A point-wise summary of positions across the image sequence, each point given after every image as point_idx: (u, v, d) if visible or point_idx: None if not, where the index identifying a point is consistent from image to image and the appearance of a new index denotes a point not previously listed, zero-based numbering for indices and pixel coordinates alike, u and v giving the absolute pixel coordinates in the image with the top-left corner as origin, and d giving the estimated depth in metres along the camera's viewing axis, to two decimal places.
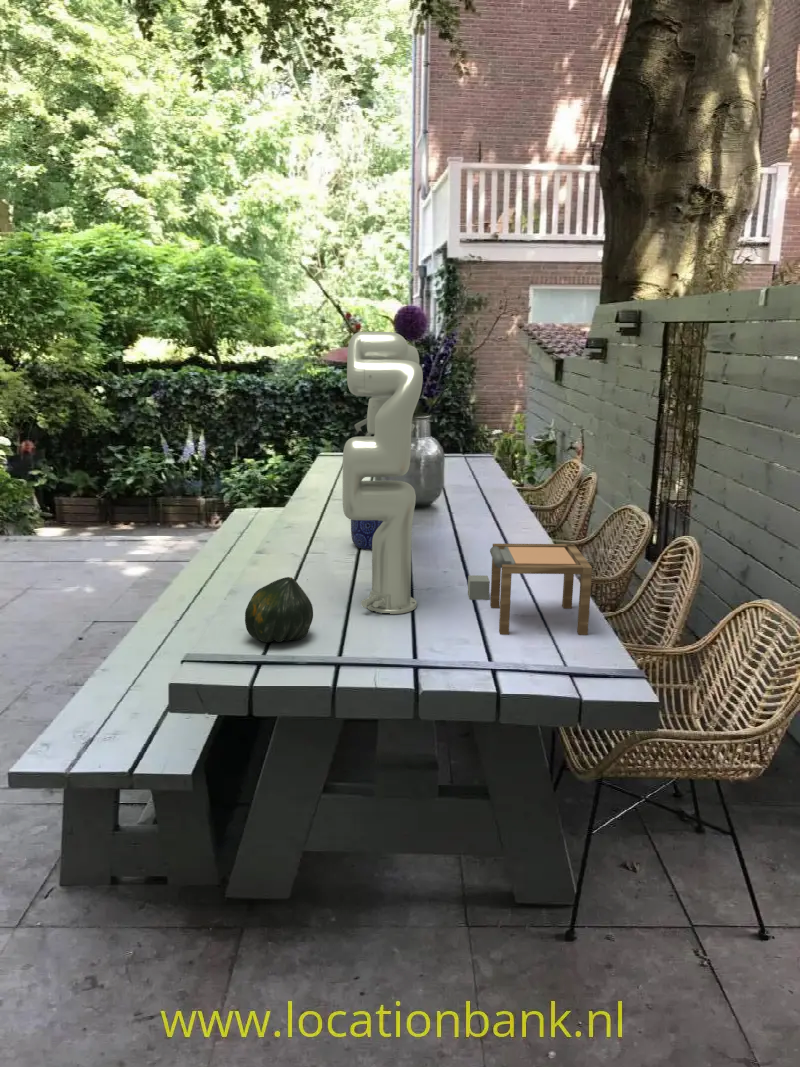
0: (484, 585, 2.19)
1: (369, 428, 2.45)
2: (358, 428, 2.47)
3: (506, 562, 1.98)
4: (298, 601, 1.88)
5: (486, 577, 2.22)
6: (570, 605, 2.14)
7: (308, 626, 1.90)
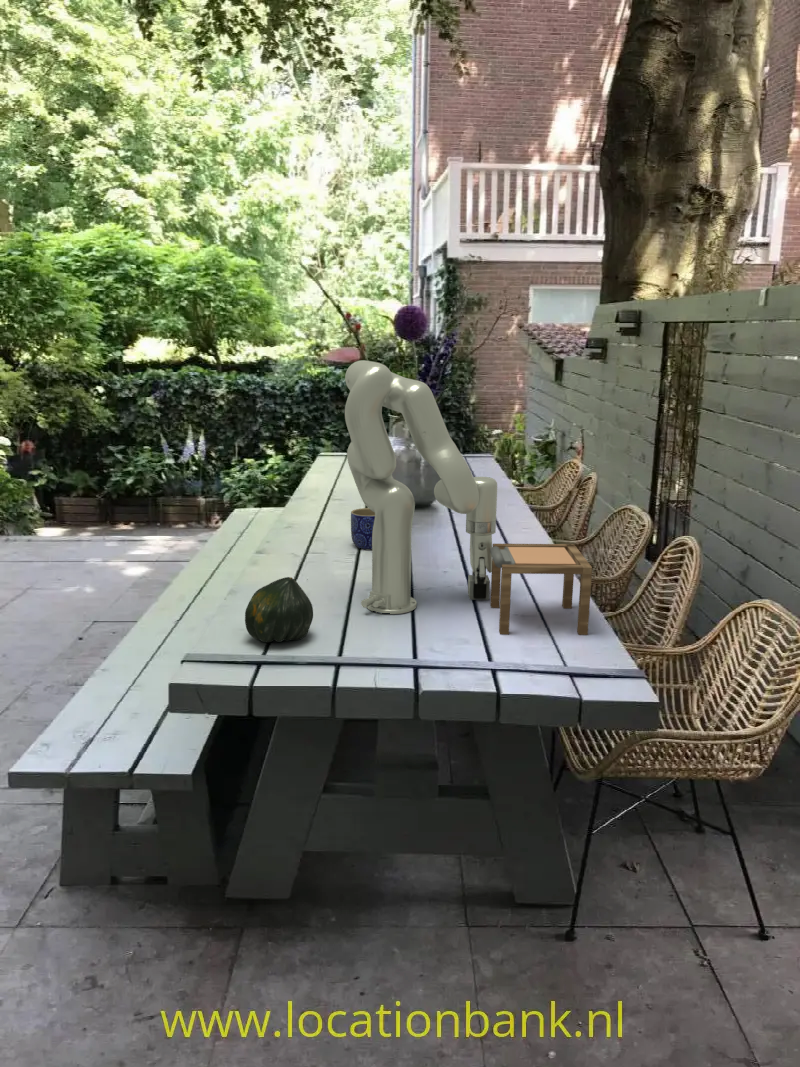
0: None
1: (491, 567, 2.16)
2: None
3: (506, 562, 1.98)
4: (298, 601, 1.88)
5: (486, 577, 2.22)
6: (570, 605, 2.14)
7: (308, 626, 1.90)
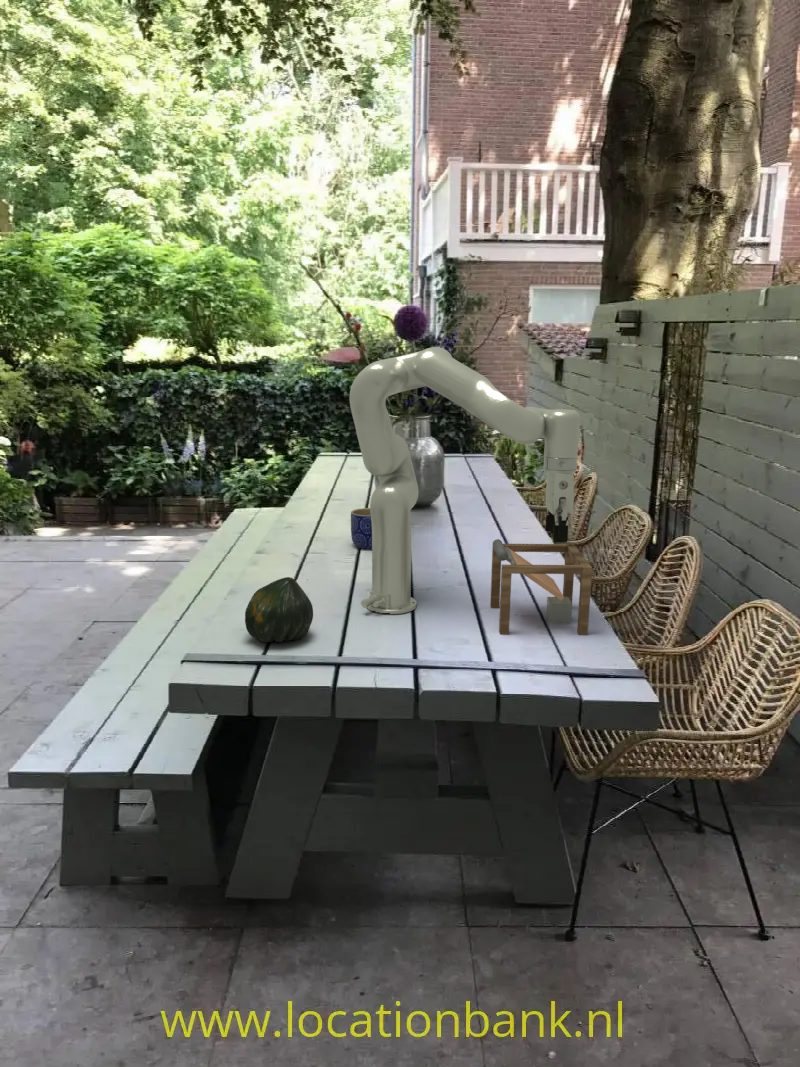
0: (566, 618, 2.04)
1: None
2: None
3: (508, 558, 1.98)
4: (298, 601, 1.88)
5: None
6: None
7: (308, 626, 1.90)
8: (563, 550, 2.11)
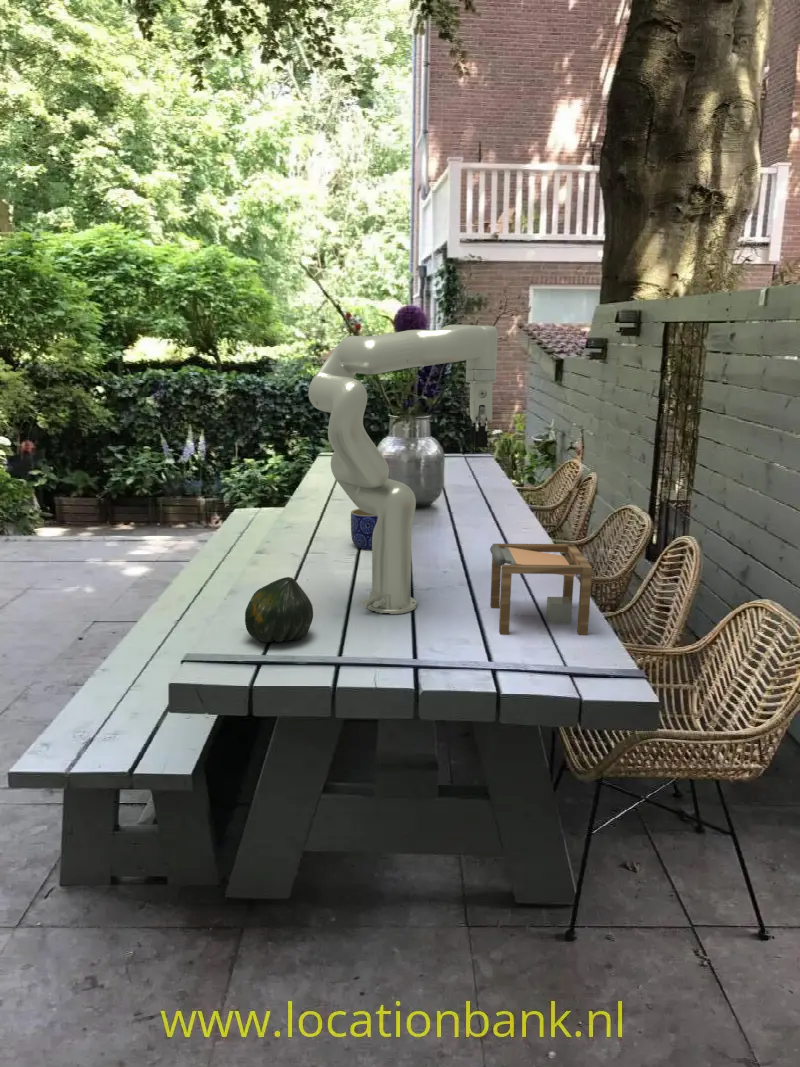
0: (566, 618, 2.04)
1: None
2: None
3: (506, 561, 1.98)
4: (298, 601, 1.88)
5: None
6: None
7: (308, 626, 1.90)
8: (563, 550, 2.11)
